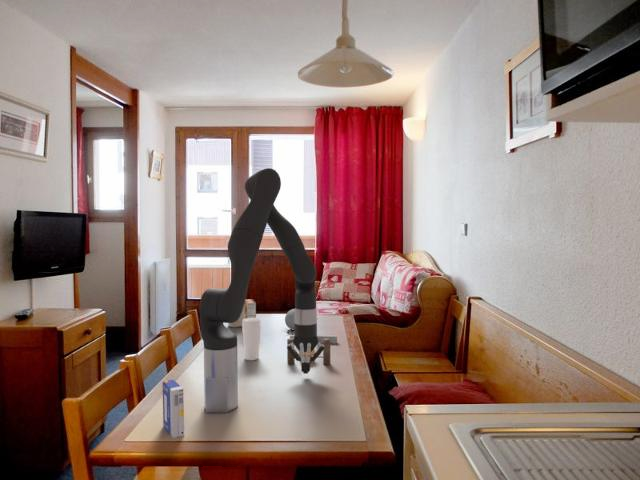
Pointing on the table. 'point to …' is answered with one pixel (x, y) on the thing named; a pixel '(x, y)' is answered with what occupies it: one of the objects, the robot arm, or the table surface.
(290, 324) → the decorative stone
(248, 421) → the table surface
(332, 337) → the gray bar
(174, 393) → the blue and white carton
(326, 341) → the post right
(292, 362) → the post left
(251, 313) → the candy box
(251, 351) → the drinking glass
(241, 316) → the travel mug
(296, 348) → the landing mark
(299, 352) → the ball
